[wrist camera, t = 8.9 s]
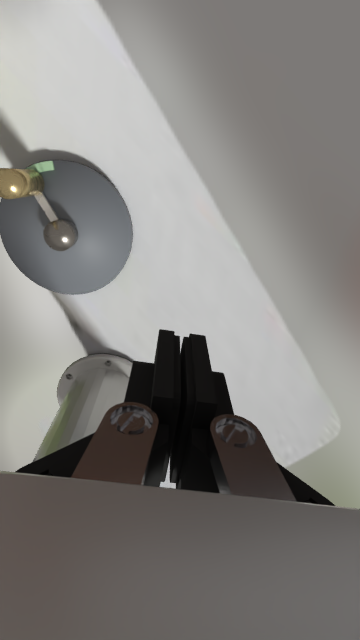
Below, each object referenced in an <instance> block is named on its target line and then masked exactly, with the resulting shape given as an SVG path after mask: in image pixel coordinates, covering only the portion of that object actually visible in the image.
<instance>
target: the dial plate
mask: <svg viewBox="0 0 360 640" xmlns="http://www.w3.org/2000/svg"><path fill="white" fill-rule="evenodd" d="M25 169H29V170H35V171H37V172H38V173H39V174H40V175H41V176H42V178H43V180H44V184H45V186H44V190H43V194H44V195H45V197H46V198H47V200H48V202H49V203H50V205H51V206H52V208H53V210H54V211H55V213H56V215H57V216H58V218H59V219H67V220H69V221H71V222H72V223H73V224H74V225H75V226H76V228H77V230H78V240H77V242H76V243H75V244H74V245H73V246H72V247H70V248H69V249H67V250H65V251H56V250H53V249H52V248H50V247H49V246H48V245H47V244H46V242H45V240H44V236H43V231H44V228H45V226H46V225H47V224H48V223H50V222H51V221H50V220H49V218H48V217H47V215H46V214H45V212H44V210H43V209H42V207H41V206H40V204H39V203H38V201H37V199H36V198H35V196H29V197H22V198H15V199H4V198H2V199H1V202H0V235H1V238H2V242H3V244H4V247H5V249H6V251H7V253H8V255H9V256H10V258H11V260H12V261H13V263H14V264H15V265H16V266H17V267H18V268H19V270H20V271H21V272H22V273H23V274H25V276H27V277H28V278H29V279H30V280H32V281H33V282H35V283H36V284H38V285H40V286H42V287H44V288H46V289H48V290H51V291H54V292H58V293H62V294H71V295H74V294H85V293H89V292H93V291H96V290H98V289H100V288H102V287H104V286H105V285H107V284H109V283H110V282H111V281H112V280H113V279H114V278H115V277H116V276H117V275H118V274H119V273H120V271H121V270H122V268H123V267H124V265H125V263H126V261H127V259H128V257H129V254H130V251H131V246H132V239H133V230H132V222H131V217H130V214H129V211H128V208H127V206H126V204H125V202H124V200H123V198H122V197H121V195H120V193H119V192H118V191H117V189H116V188H115V187H114V186H113V185H112V184H111V183H110V182H109V181H108V180H107V179H106V178H105V177H104V176H102V175H101V174H100V173H98V172H97V171H95V170H93V169H91V168H90V167H87V166H85V165H82V164H79V163H75V162H72V161H64V160H48V161H42V162H38V163H36V164H33V165H30V166H29V167H27V168H25Z"/></svg>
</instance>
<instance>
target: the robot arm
mask: <svg viewBox="0 0 360 640" xmlns="http://www.w3.org/2000/svg"><path fill="white" fill-rule="evenodd" d="M57 398H58V403H59V405H60V408H59V410H58V412H57V414H56V416H55V418H54V420H53V422H52V424H51V426H50V428H49V430H48V432H47V434H46V436H45V438H44V440H43V442H42V444H41V446H40V448H39V450H38V452H37V454H36V456H35V458H34V460H33V462H32V463H30V464H28V465H26V466H24V467H22V468H20V469H19V470H17V471H16V472H6V471H0V640H360V509H356V508H346V507H338V506H335V505H334V504H333V503H331V502H330V501H329V500H328V499H326V498H325V497H323V496H322V495H321V494H320V493H318V492H317V491H315V490H314V489H313V488H311V487H310V486H309V485H307V484H306V483H304V482H303V481H301V480H300V479H299V478H298V477H296V476H295V475H293V474H292V473H291V472H289V471H288V470H287V469H285V468H284V467H282V466H281V465H280V464H278V463H277V462H276V461H275V459H274V457H273V455H272V453H271V451H270V449H269V448H268V446H267V444H266V442H265V440H264V438H263V436H262V434H261V432H260V431H259V430H258V428H257V427H256V426H255V425H254V424H253V423H252V422H250V421H248V420H247V419H245V418H243V417H240V416H237V415H234V413H233V409H232V404H231V400H230V396H229V392H228V388H227V384H226V380H225V376H224V373H220V372H213V371H212V370H211V364H210V359H209V354H208V348H207V343H206V338H205V336H203V335H196V334H190V335H189V337H184V338H183V343H182V348H181V353H180V336H175V335H174V331H168V330H161V329H160V330H159V336H158V342H157V349H156V355H155V361H154V363H146V362H139V361H133V363H132V362H130V361H128V360H126V359H124V358H121V357H118V356H114V355H109V354H96V355H89V356H86V357H83V358H81V359H79V360H77V361H75V362H74V363H72V364H71V365H70V366H69V367H68V368H67V369H66V371H65V372H64V373H63V375H62V377H61V379H60V381H59V384H58V387H57ZM169 458H170V483H176V489H173V488H164V487H160V482H165V478H166V473H167V468H168V463H169Z"/></svg>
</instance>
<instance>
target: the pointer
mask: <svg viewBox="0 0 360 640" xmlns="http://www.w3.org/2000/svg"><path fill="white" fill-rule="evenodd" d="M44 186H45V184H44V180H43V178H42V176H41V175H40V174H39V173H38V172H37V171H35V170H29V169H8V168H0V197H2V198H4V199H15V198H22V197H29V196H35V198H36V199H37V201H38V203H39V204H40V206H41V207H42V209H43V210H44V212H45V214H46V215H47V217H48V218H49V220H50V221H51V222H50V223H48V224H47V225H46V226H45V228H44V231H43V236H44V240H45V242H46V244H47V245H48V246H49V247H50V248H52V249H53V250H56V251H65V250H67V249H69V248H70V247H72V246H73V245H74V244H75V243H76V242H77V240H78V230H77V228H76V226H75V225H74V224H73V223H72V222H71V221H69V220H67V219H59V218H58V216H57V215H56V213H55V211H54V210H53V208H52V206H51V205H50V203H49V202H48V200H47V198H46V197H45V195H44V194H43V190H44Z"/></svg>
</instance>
